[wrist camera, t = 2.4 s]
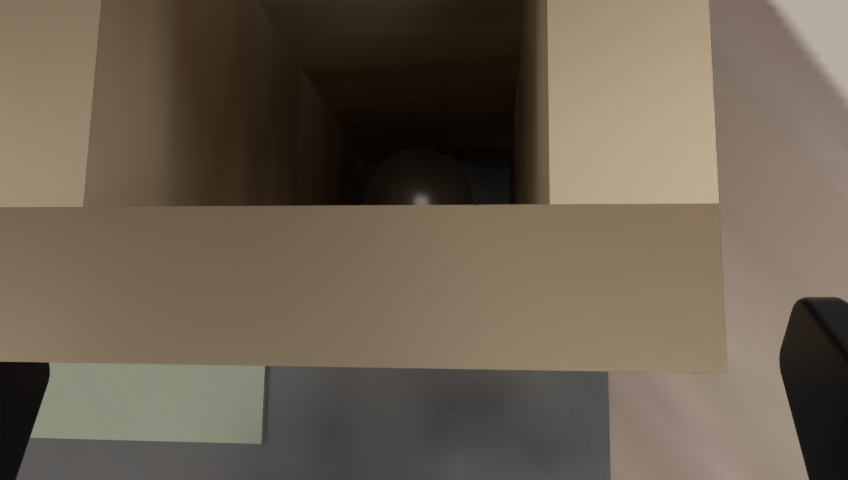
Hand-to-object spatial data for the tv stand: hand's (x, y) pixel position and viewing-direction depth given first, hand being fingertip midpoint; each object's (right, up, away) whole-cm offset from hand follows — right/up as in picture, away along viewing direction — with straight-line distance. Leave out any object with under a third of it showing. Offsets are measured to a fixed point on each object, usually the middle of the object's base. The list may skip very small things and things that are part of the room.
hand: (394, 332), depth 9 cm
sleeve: (+1, +1, +9) cm, 9 cm away
